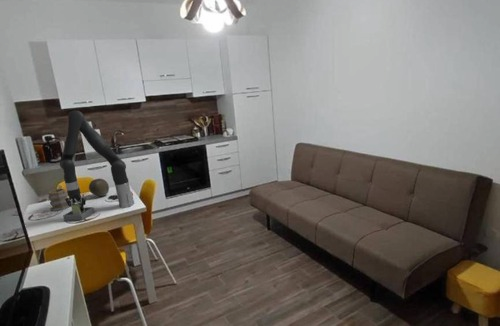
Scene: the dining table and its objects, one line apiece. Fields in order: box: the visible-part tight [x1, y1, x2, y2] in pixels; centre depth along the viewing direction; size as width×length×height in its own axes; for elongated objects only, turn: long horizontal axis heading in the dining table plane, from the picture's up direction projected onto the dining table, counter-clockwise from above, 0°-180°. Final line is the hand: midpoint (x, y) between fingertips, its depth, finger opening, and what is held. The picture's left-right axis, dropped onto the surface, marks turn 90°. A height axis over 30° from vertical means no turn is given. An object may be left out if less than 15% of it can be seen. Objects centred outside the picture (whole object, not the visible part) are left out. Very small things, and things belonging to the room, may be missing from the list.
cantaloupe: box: [88, 178, 110, 197], centre depth 246 cm, size 14×14×15 cm
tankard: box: [47, 185, 70, 212], centre depth 231 cm, size 20×13×15 cm, turn 18°
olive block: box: [70, 203, 85, 214], centre depth 206 cm, size 5×5×6 cm
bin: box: [62, 206, 95, 222], centre depth 207 cm, size 13×13×4 cm
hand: (78, 211), depth 206 cm, fingers closed on olive block, 4 cm apart
